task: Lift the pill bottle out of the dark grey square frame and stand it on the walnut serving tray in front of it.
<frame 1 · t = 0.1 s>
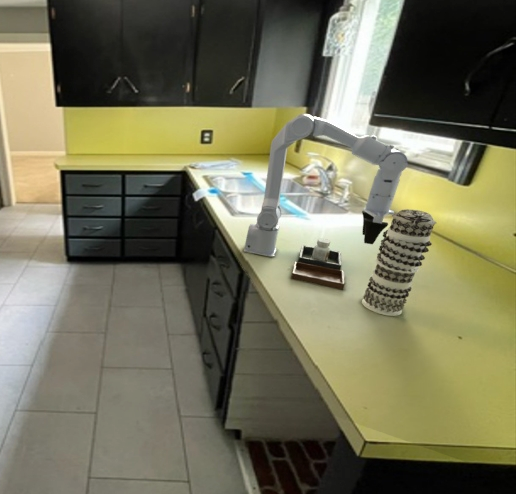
hand: (367, 239, 107), 10 cm above the worktop, tool pointing down, fingers open, 7 cm apart
tray: (316, 277, 106), on the worktop
pill bottle: (318, 263, 116), resting in dark grey square frame
decorative candle: (381, 307, 92), on the worktop
dark grey square frame: (318, 263, 115), on the worktop
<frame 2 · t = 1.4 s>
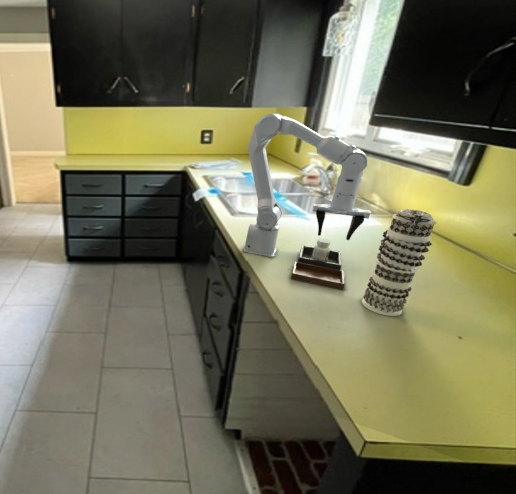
hand: (333, 236, 111), 9 cm above the worktop, tool pointing down, fingers open, 7 cm apart
nothing on the worktop moved.
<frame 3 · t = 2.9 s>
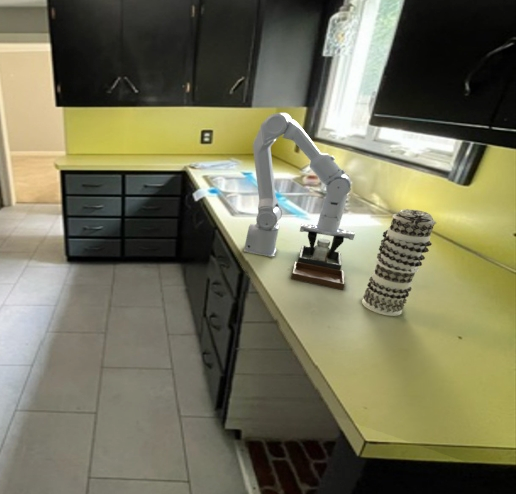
hand: (319, 256, 114), 2 cm above the worktop, tool pointing down, fingers closed on pill bottle, 4 cm apart
pill bottle: (318, 263, 116), resting in dark grey square frame, touching gripper
everything else where it was.
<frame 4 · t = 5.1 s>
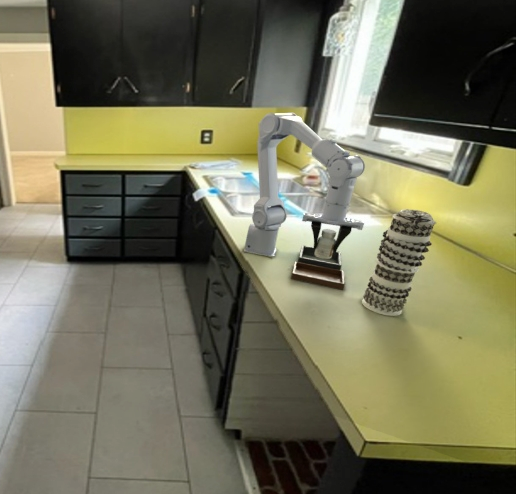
hand: (324, 248, 103), 9 cm above the worktop, tool pointing down, fingers closed on pill bottle, 4 cm apart
pill bottle: (322, 256, 104), point 6 cm above the worktop, touching gripper
everything else where it was.
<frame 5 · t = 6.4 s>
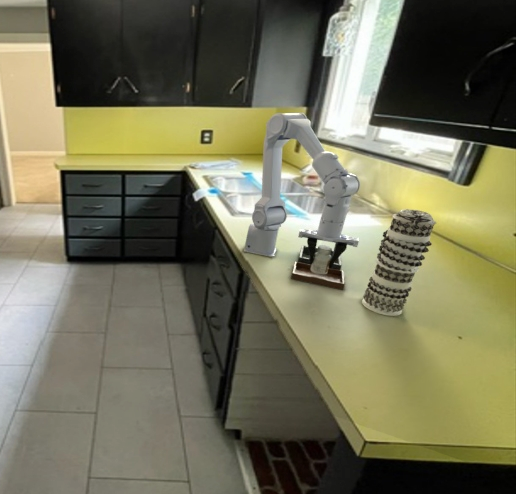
hand: (320, 264, 104), 4 cm above the worktop, tool pointing down, fingers closed on pill bottle, 4 cm apart
pill bottle: (318, 272, 106), point 2 cm above the worktop, touching gripper
everything else where it was.
when the fingers open (3 cm above the worktop, at t = 7.3 s): pill bottle stays where it is, resting on tray.
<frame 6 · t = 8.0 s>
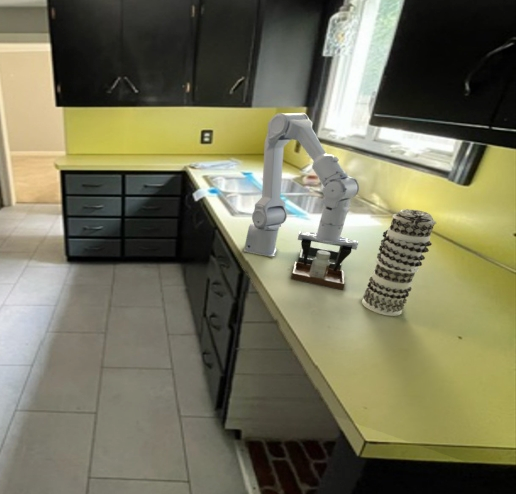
hand: (319, 266, 105), 4 cm above the worktop, tool pointing down, fingers open, 7 cm apart
pill bottle: (317, 277, 106), resting on tray
everything else where it was.
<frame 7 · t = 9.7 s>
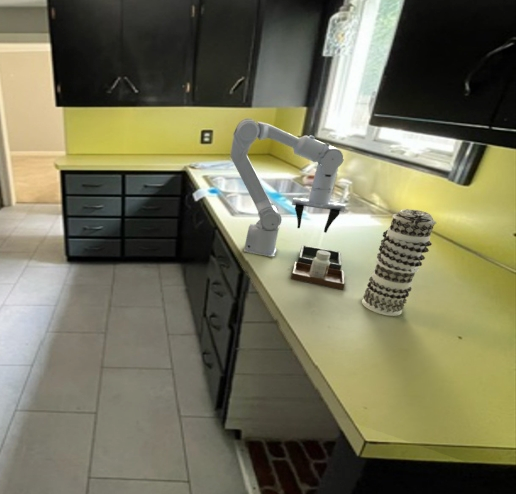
hand: (311, 229, 116), 9 cm above the worktop, tool pointing down, fingers open, 7 cm apart
nothing on the worktop moved.
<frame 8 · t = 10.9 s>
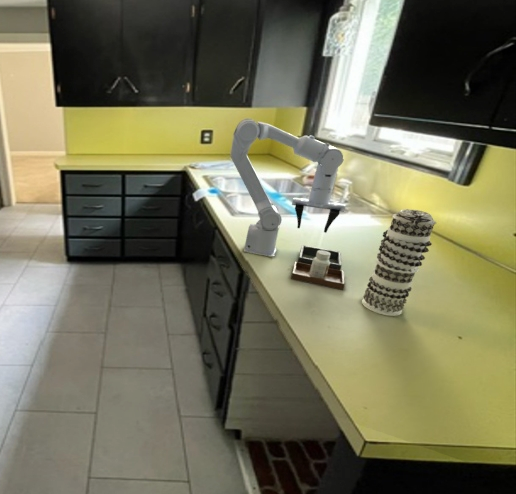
hand: (311, 229, 116), 9 cm above the worktop, tool pointing down, fingers open, 7 cm apart
nothing on the worktop moved.
at the end: pill bottle inside the target area in the tray (0.0 cm from its centre), point 0.2 cm above the tray's base; pill bottle tilted 0°; the gripper is holding nothing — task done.
